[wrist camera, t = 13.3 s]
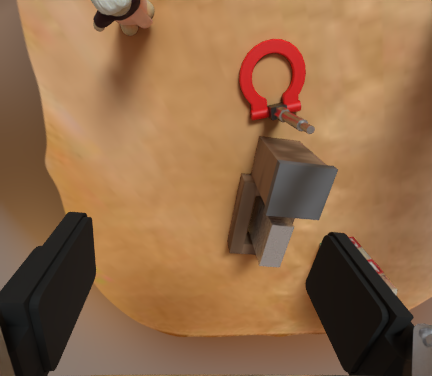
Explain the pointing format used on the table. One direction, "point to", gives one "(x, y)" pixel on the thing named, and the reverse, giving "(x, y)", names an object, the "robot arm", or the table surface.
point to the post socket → (280, 187)
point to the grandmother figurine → (123, 14)
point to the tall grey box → (269, 235)
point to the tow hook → (289, 96)
